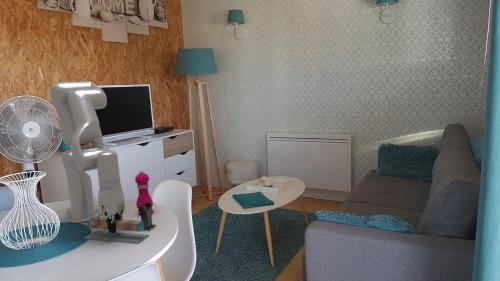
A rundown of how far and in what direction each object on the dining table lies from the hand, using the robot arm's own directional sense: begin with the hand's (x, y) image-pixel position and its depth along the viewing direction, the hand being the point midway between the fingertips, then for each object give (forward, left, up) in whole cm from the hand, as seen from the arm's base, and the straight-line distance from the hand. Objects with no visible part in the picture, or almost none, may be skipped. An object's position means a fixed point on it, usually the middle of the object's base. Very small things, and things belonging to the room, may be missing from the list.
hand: (115, 230), depth 146 cm
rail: (0, 0, +1) cm, 1 cm away
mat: (0, 0, -3) cm, 3 cm away
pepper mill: (-4, +27, -3) cm, 27 cm away
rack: (0, +11, -3) cm, 11 cm away
